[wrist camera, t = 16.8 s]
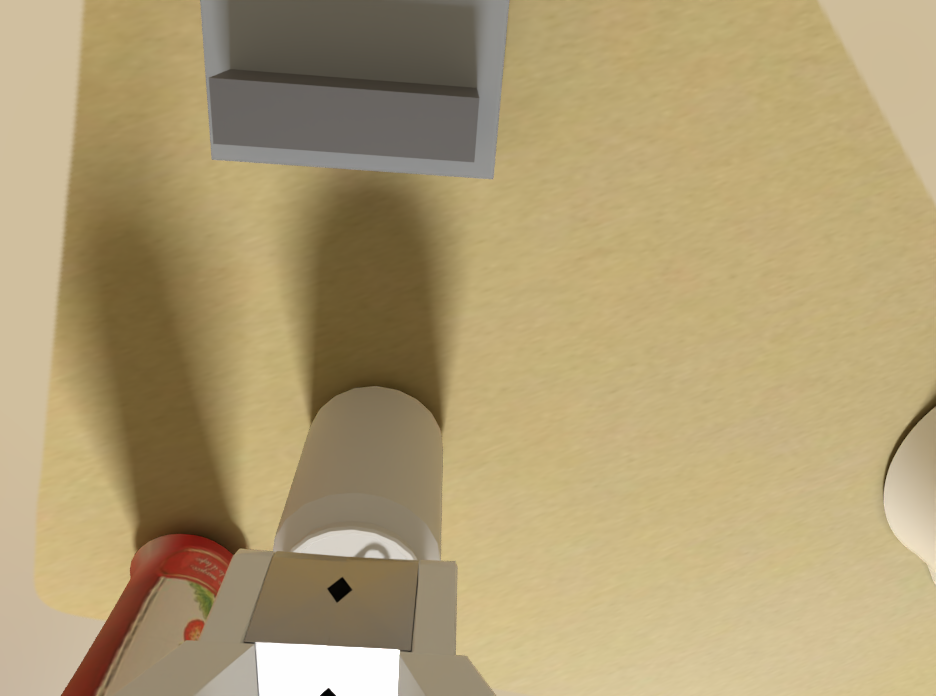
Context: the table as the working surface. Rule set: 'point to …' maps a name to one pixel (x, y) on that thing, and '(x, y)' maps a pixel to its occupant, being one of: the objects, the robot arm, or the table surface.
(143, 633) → the liquor
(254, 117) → the frame
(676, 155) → the table surface
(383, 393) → the can
